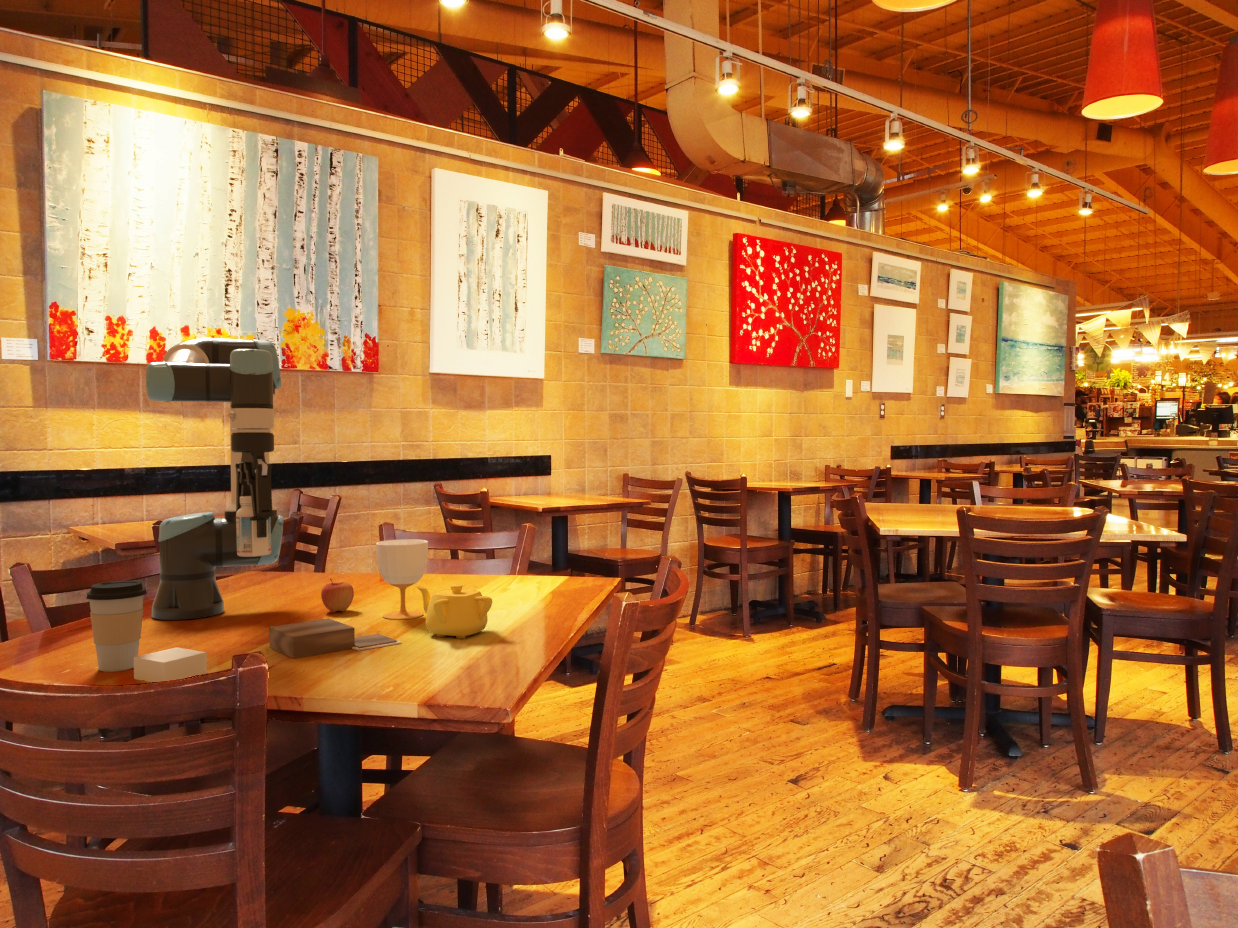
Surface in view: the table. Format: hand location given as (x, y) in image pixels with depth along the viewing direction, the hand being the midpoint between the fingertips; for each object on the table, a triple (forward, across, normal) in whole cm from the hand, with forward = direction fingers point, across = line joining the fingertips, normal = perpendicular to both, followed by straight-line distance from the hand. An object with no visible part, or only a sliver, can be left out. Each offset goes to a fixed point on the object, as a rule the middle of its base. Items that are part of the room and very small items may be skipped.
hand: (254, 552), depth 166 cm
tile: (+19, +7, +20) cm, 28 cm away
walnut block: (+19, +3, +10) cm, 22 cm away
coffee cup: (+19, -5, -22) cm, 30 cm away
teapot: (+19, +10, +37) cm, 43 cm away
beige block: (+19, +7, -16) cm, 27 cm away
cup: (+19, -14, +37) cm, 44 cm away
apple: (+19, -29, +28) cm, 44 cm away
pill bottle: (+1, 0, 0) cm, 1 cm away
